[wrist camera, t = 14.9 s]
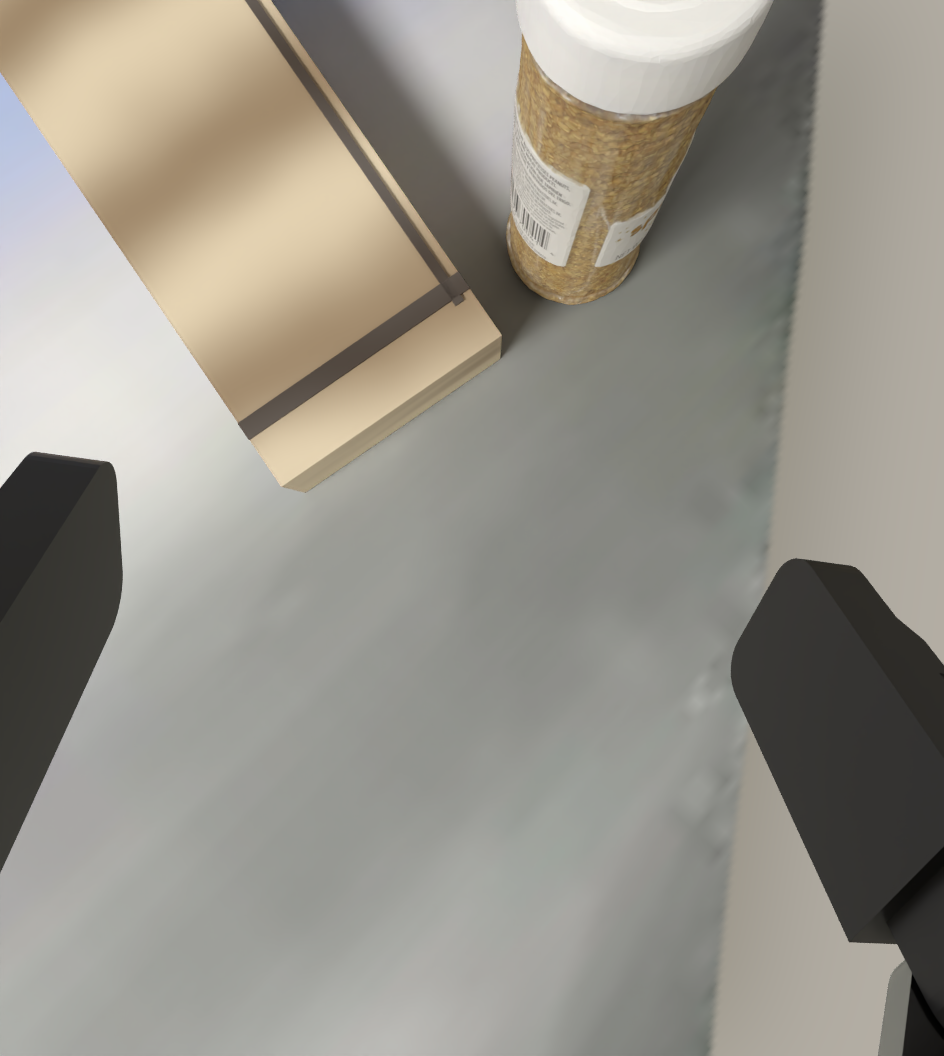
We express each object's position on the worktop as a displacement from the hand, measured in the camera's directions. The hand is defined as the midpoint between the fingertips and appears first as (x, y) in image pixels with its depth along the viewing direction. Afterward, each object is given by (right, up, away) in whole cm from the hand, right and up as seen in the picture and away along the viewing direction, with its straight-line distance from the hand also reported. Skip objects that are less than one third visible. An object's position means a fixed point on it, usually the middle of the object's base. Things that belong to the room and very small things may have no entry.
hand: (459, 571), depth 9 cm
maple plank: (-8, +12, +17) cm, 22 cm away
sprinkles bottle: (+4, +10, +17) cm, 20 cm away
